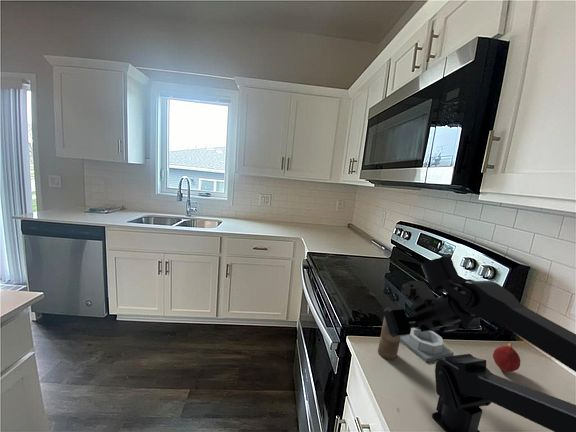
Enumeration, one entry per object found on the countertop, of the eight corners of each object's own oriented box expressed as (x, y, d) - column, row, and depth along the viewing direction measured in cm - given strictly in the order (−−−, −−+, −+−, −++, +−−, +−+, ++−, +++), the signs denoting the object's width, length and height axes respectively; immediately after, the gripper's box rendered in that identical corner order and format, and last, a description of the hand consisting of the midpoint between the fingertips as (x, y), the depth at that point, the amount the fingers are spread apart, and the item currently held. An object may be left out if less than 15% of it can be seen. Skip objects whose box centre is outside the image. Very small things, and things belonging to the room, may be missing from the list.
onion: (522, 380, 72) (530, 352, 71) (500, 377, 72) (507, 350, 71) (505, 364, 78) (512, 339, 77) (485, 362, 78) (491, 336, 77)
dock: (453, 355, 79) (455, 344, 79) (425, 362, 75) (428, 350, 75) (421, 333, 89) (424, 323, 89) (396, 337, 85) (398, 327, 84)
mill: (400, 358, 76) (409, 313, 73) (386, 361, 74) (395, 315, 71) (387, 347, 80) (395, 304, 78) (374, 349, 78) (381, 306, 76)
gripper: (458, 275, 67) (417, 295, 80) (395, 276, 62) (361, 298, 74) (482, 322, 61) (433, 337, 74) (414, 328, 56) (373, 343, 68)
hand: (400, 327), depth 72 cm, fingers open, 9 cm apart
